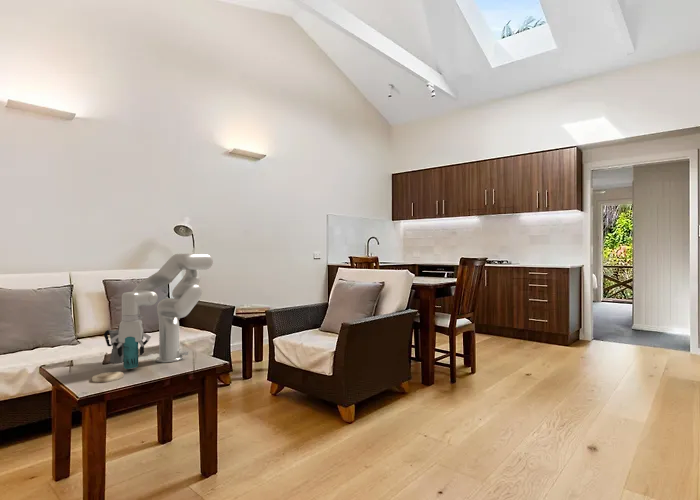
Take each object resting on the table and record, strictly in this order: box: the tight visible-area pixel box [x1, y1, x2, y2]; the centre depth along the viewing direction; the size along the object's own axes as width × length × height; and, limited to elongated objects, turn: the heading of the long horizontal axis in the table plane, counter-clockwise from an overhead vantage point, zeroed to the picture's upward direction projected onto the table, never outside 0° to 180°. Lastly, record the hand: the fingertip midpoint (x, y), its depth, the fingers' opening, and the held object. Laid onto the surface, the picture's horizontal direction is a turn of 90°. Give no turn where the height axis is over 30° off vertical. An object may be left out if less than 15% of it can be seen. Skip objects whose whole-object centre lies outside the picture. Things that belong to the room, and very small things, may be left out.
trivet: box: [91, 371, 125, 384], centre depth 182 cm, size 12×12×1 cm
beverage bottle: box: [122, 337, 140, 370], centre depth 195 cm, size 6×7×20 cm
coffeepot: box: [103, 325, 124, 364], centre depth 212 cm, size 15×9×18 cm, turn 82°
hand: (131, 355), depth 195 cm, fingers open, 8 cm apart
